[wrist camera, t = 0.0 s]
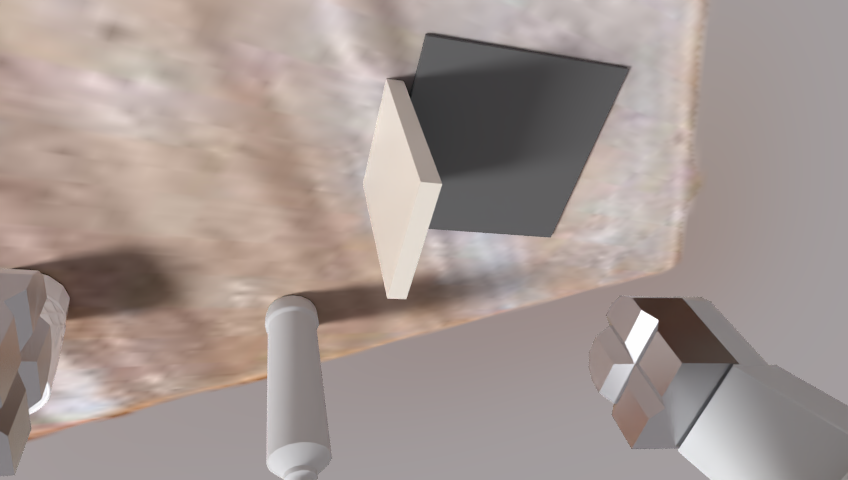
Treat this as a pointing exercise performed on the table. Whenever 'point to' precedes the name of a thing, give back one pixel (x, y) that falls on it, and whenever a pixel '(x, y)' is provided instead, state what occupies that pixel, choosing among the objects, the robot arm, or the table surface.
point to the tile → (399, 189)
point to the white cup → (53, 330)
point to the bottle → (295, 392)
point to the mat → (507, 131)
